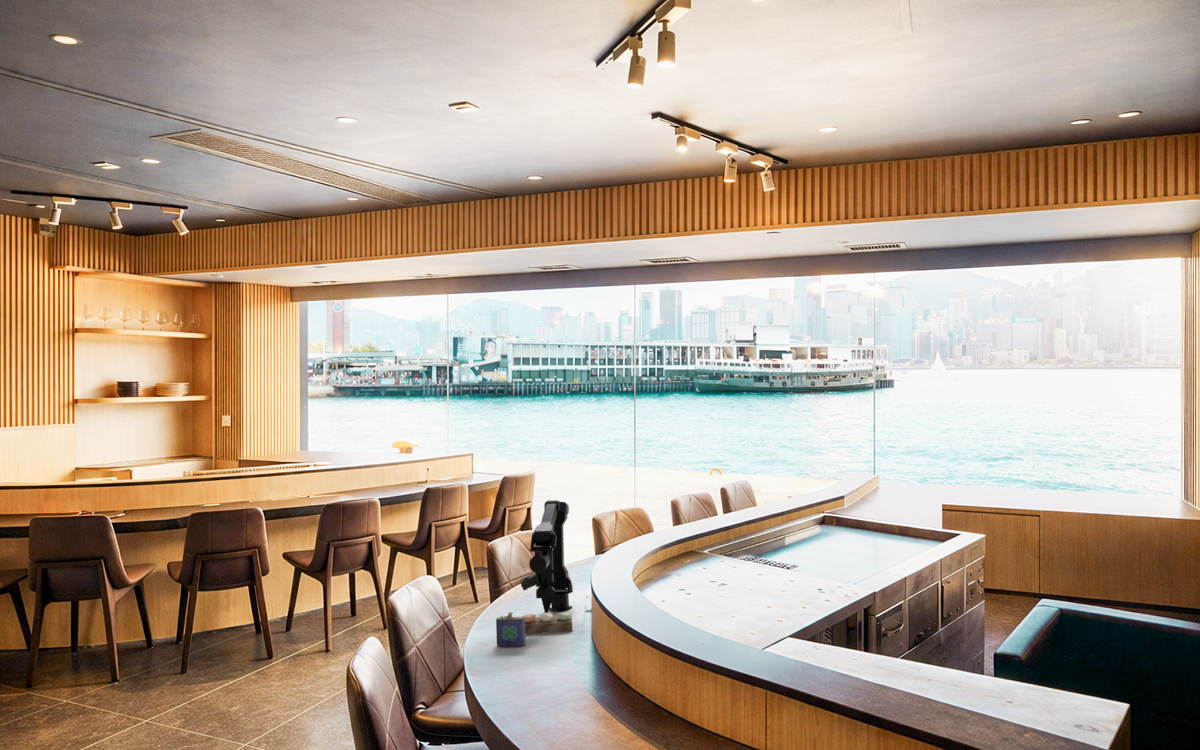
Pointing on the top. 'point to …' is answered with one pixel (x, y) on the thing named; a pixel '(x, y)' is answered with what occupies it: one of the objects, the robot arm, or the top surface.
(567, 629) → the console
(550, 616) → the button cream
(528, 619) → the button terracotta
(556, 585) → the robot arm
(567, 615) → the button sage
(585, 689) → the top surface
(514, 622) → the flask
